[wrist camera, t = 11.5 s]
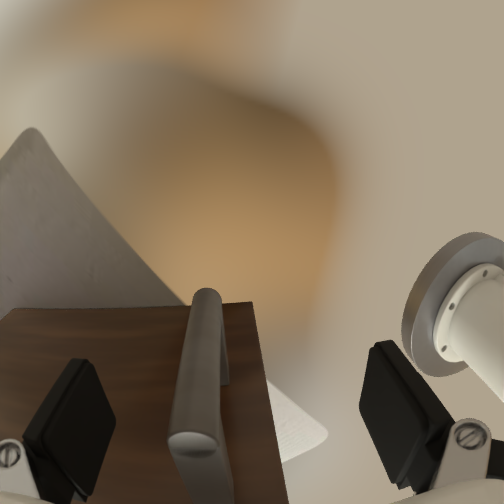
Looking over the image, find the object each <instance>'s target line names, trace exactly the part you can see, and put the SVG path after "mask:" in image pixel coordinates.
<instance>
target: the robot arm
mask: <svg viewBox="0 0 504 504" xmlns="http://www.w3.org/2000/svg"><path fill="white" fill-rule="evenodd" d="M433 342H434V346H435V349H436V351H437V352H438V354H439V355H440V356H441V357H442V358H443V359H444V360H446V361H449V362H460V361H463V360H464V361H465V362H466V363H467V364H468V365H469V367H471V368H472V370H473V371H475V373H476V374H477V375H478V376H479V377H480V378H481V379H482V380H483V381H484V382H485V383H486V384H487V385H488V386H489V387H490V389H491V390H492V391H493V392H494V393H495V394H496V395H497V396H498V397H499V398H500V399H501V401H502V402H503V403H504V271H503V270H502V269H501V268H500V267H498V266H496V265H494V264H490V263H484V264H480V265H477V266H475V267H473V268H472V269H470V270H469V271H467V272H466V273H465V274H464V275H463V276H462V277H461V278H460V279H459V280H458V281H457V282H456V283H455V284H454V286H453V287H452V288H451V289H450V291H449V293H448V294H447V296H446V297H445V299H444V301H443V303H442V305H441V307H440V309H439V312H438V314H437V317H436V320H435V325H434V330H433ZM359 410H360V413H361V416H362V418H363V420H364V422H365V425H366V427H367V429H368V431H369V434H370V436H371V438H372V440H373V443H374V445H375V447H376V449H377V451H378V454H379V456H380V458H381V461H382V463H383V465H384V467H385V470H386V472H387V475H388V477H389V479H390V481H391V483H393V484H394V483H396V484H397V486H398V489H399V490H400V489H403V488H405V487H408V486H411V487H412V490H413V491H415V492H414V494H413V496H412V497H409V498H406V499H403V500H401V501H397V502H394V503H391V504H504V441H500V440H495V439H491V432H490V430H489V428H488V427H487V426H486V425H485V424H484V423H483V422H481V421H479V420H476V419H472V418H471V419H470V418H466V419H461V420H459V421H458V422H455V421H454V420H453V418H452V417H451V415H450V414H449V412H448V411H447V410H446V409H445V407H444V406H443V404H442V403H441V401H440V400H439V399H438V397H437V396H436V395H435V393H434V392H433V391H432V389H431V388H430V387H429V385H428V384H427V383H426V381H425V380H424V379H423V377H422V376H421V375H420V374H419V373H418V372H417V371H416V370H415V368H414V367H413V366H412V365H411V363H410V362H409V361H408V359H407V358H406V357H405V356H404V354H403V353H402V352H401V350H400V349H399V348H398V346H397V345H396V344H395V342H394V341H393V340H387V341H381V342H376V343H375V345H374V347H372V348H370V350H369V356H368V361H367V367H366V372H365V378H364V383H363V388H362V392H361V397H360V402H359ZM115 426H116V417H115V415H114V412H113V410H112V408H111V406H110V404H109V401H108V399H107V397H106V394H105V392H104V389H103V387H102V385H101V382H100V380H99V377H98V375H97V372H96V369H95V367H94V365H93V364H92V363H90V362H89V360H88V359H82V358H72V359H71V360H70V361H69V363H68V364H67V365H66V367H65V368H64V370H63V371H62V373H61V374H60V376H59V377H58V379H57V380H56V382H55V383H54V385H53V386H52V388H51V389H50V391H49V393H48V394H47V396H46V397H45V399H44V400H43V402H42V404H41V405H40V407H39V408H38V410H37V412H36V413H35V415H34V416H33V418H32V420H31V421H30V423H29V425H28V426H27V428H26V430H25V431H24V433H23V435H22V438H23V439H24V440H23V442H22V444H21V443H20V442H19V441H18V440H15V439H5V440H2V441H0V504H71V501H72V499H74V500H77V501H81V502H85V503H86V502H87V499H88V496H91V495H92V494H93V491H94V488H95V485H96V482H97V479H98V475H99V472H100V469H101V466H102V463H103V460H104V457H105V455H106V452H107V449H108V446H109V443H110V440H111V437H112V435H113V432H114V429H115Z"/></svg>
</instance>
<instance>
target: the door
mask: <svg viewBox="0 0 504 504" xmlns="http://www.w3.org/2000/svg"><path fill="white" fill-rule="evenodd" d="M72 358H82V359H88V360H89V362H90V363H92V364H93V365H94V367H95V369H96V372H97V375H98V377H99V380H100V382H101V385H102V387H103V389H104V392H105V394H106V397H107V399H108V401H109V404H110V406H111V408H112V410H113V412H114V415H115V417H116V426H115V429H114V432H113V435H112V437H111V440H110V443H109V446H108V449H107V452H106V455H105V457H104V460H103V463H102V466H101V469H100V472H99V475H98V479H97V482H96V485H95V488H94V491H93V494H92V495H91V496H88V499H87V502H86V503H85V502H81V501H77V500H74V499H72V501H71V504H289V501H288V496H287V491H286V485H285V480H284V475H283V469H282V464H281V459H280V453H279V448H278V442H277V437H276V432H275V426H274V421H273V415H272V410H271V404H270V399H269V393H268V388H267V382H266V377H265V371H264V365H263V360H262V354H261V349H260V343H259V337H258V332H257V326H256V320H255V315H254V309H253V303H252V302H240V303H226V304H222V300H221V297H220V295H219V293H218V292H217V291H215V290H214V289H211V288H202V289H200V290H198V291H197V292H196V293H195V294H194V296H193V301H192V305H191V306H172V307H148V308H114V309H13V310H12V311H10V312H9V313H8V314H7V315H6V316H5V317H4V318H3V319H2V320H1V321H0V441H2V440H5V439H15V440H18V441H19V442H20V443H21V444H22V442H23V440H24V439H23V438H22V435H23V433H24V431H25V430H26V428H27V426H28V425H29V423H30V421H31V420H32V418H33V416H34V415H35V413H36V412H37V410H38V408H39V407H40V405H41V404H42V402H43V400H44V399H45V397H46V396H47V394H48V393H49V391H50V389H51V388H52V386H53V385H54V383H55V382H56V380H57V379H58V377H59V376H60V374H61V373H62V371H63V370H64V368H65V367H66V365H67V364H68V363H69V361H70V360H71V359H72Z"/></svg>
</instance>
